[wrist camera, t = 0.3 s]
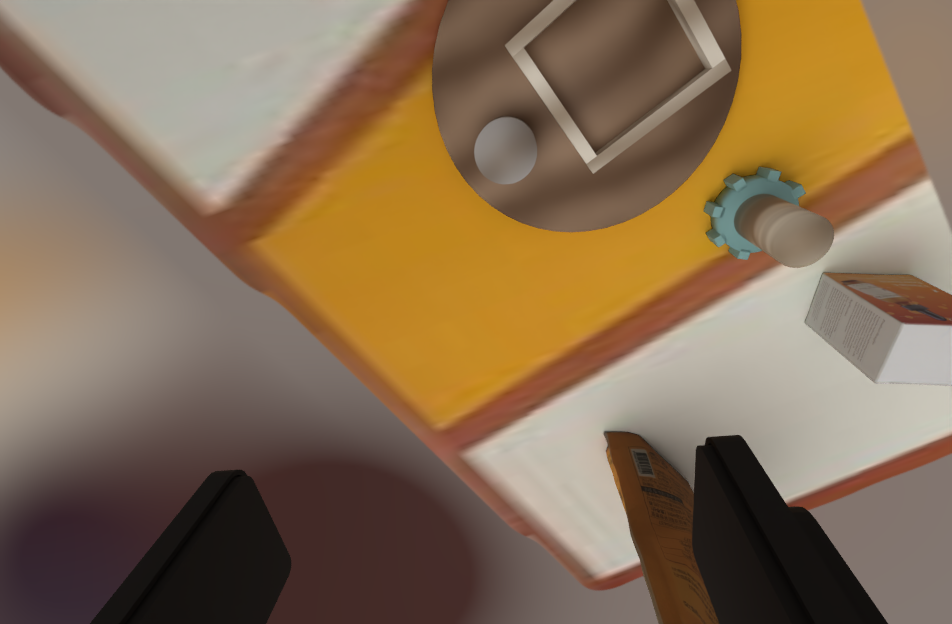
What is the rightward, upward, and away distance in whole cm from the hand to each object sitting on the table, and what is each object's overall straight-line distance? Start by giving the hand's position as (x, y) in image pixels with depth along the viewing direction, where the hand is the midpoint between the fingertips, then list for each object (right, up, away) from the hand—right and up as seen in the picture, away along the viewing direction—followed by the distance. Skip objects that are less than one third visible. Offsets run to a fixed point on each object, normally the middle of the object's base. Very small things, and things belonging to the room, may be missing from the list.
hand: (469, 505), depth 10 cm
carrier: (+9, +23, +29) cm, 38 cm away
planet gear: (+25, +13, +32) cm, 42 cm away
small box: (+37, +5, +35) cm, 51 cm away
